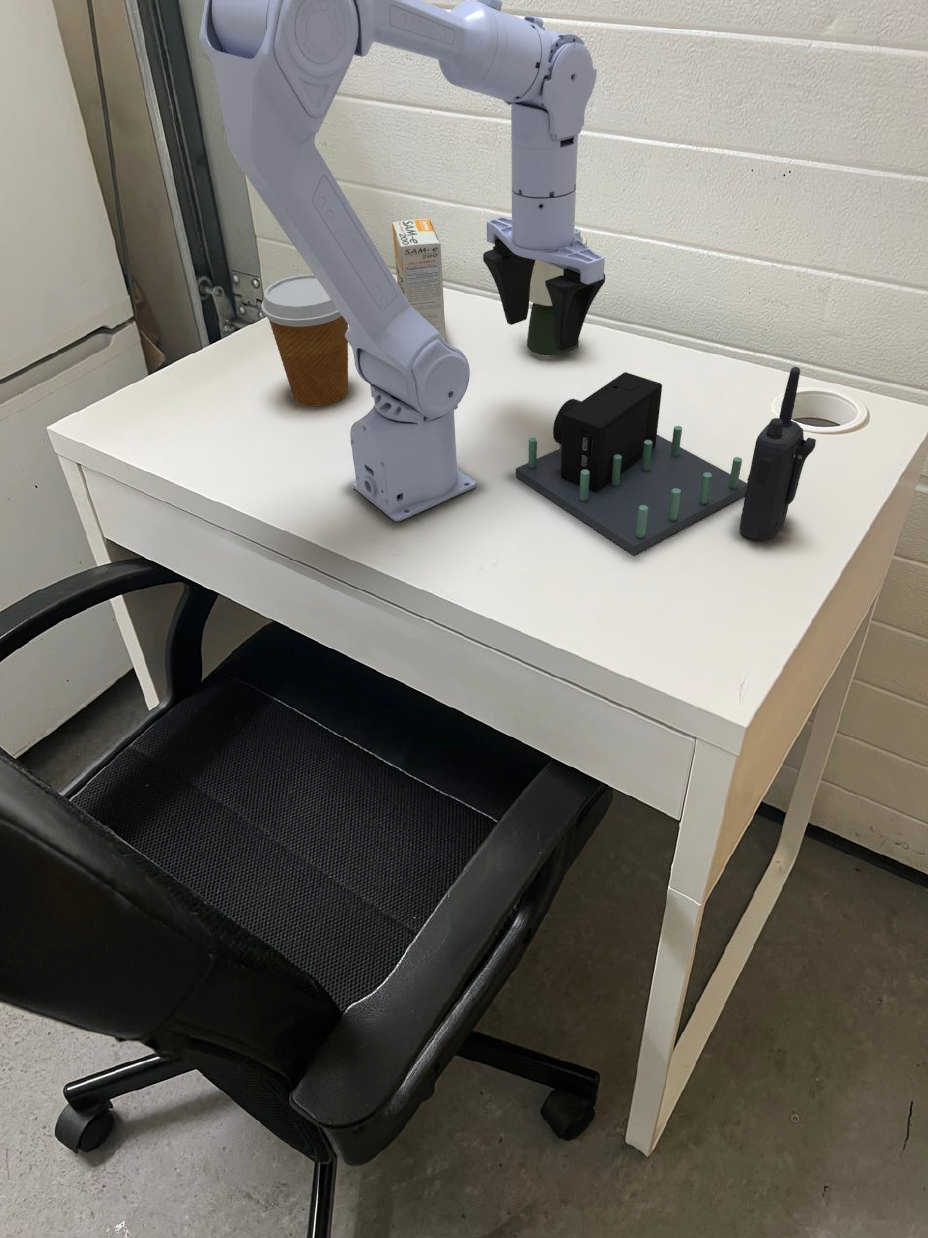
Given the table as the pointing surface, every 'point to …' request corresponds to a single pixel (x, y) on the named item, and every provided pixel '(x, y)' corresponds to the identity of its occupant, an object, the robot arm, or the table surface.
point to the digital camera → (607, 428)
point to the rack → (639, 492)
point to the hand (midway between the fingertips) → (541, 333)
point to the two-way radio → (775, 469)
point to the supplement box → (420, 269)
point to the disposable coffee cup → (309, 339)
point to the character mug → (544, 310)
